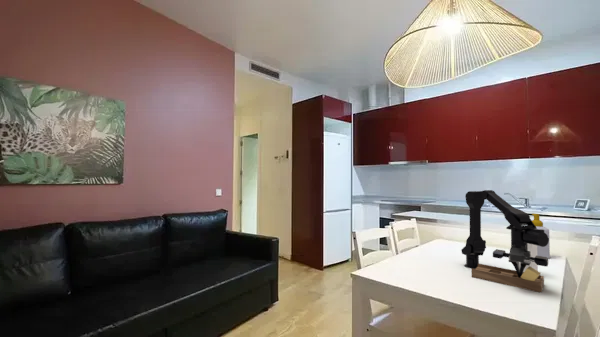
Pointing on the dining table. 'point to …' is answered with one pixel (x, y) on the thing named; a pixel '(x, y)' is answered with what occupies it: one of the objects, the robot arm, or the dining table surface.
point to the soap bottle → (539, 225)
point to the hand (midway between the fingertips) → (519, 277)
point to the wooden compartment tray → (507, 277)
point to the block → (530, 274)
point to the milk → (533, 253)
